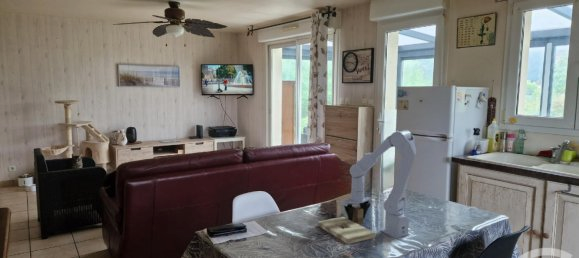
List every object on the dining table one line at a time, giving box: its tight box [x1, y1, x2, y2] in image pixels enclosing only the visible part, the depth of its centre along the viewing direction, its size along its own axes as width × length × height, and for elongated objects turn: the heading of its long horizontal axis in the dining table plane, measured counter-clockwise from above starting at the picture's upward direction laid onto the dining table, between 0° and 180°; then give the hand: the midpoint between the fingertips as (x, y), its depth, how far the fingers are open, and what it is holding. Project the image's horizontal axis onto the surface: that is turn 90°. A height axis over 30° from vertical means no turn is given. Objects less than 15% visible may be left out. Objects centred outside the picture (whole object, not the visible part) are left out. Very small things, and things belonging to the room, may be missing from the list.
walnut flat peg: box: [352, 205, 364, 226], centre depth 170 cm, size 5×3×7 cm, turn 28°
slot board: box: [317, 217, 376, 245], centre depth 160 cm, size 22×14×2 cm, turn 28°
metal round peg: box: [338, 201, 348, 219], centre depth 177 cm, size 5×5×7 cm
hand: (356, 219), depth 170 cm, fingers open, 6 cm apart
